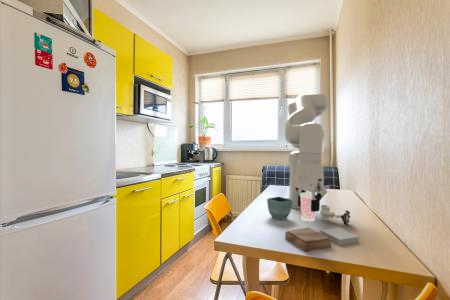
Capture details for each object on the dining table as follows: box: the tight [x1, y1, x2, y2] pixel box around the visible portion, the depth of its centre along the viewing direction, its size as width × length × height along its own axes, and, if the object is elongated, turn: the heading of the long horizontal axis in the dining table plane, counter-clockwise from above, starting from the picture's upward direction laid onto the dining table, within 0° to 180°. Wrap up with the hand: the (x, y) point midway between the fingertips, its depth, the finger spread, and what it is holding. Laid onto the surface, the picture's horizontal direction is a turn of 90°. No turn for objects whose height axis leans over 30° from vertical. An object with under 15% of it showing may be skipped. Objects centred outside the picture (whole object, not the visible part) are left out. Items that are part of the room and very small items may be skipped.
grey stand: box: [320, 227, 360, 246], centre depth 83 cm, size 9×9×2 cm
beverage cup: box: [300, 191, 317, 222], centre depth 79 cm, size 6×6×14 cm
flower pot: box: [266, 196, 293, 221], centre depth 105 cm, size 9×9×9 cm
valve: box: [319, 204, 351, 226], centre depth 102 cm, size 7×7×12 cm
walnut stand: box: [284, 227, 332, 253], centre depth 79 cm, size 11×11×3 cm
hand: (308, 208), depth 79 cm, fingers closed on beverage cup, 6 cm apart
